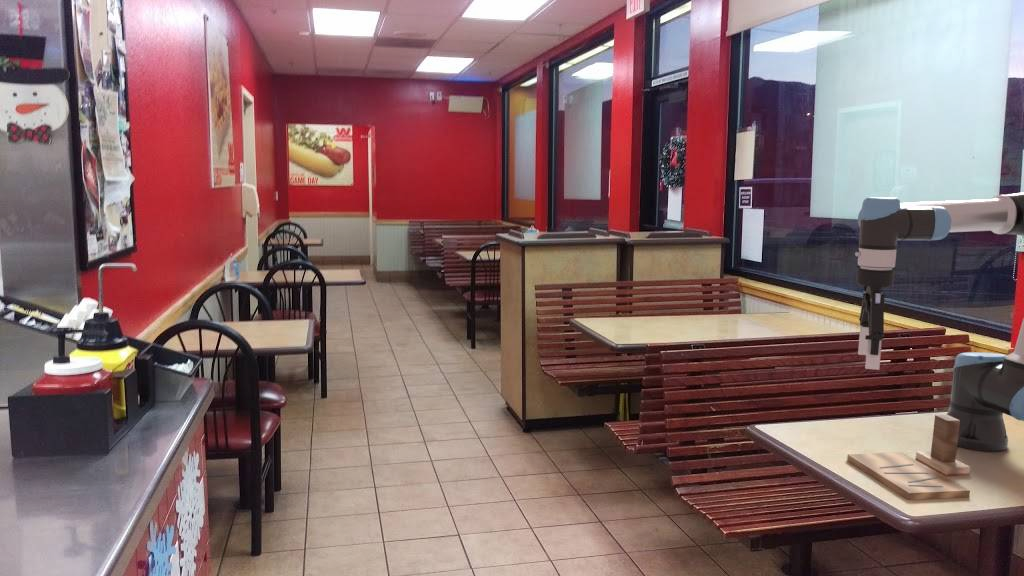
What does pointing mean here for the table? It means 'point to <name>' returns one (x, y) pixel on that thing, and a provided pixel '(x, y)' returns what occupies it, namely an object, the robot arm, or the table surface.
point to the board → (908, 476)
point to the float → (944, 448)
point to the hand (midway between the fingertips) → (868, 361)
